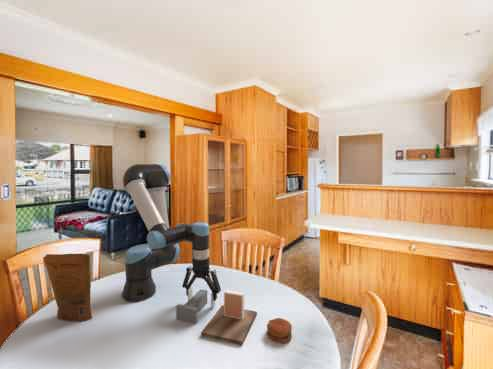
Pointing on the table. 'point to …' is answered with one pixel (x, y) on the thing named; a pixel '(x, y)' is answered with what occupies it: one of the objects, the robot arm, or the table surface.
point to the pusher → (192, 308)
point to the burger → (279, 330)
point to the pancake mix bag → (70, 285)
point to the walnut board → (229, 327)
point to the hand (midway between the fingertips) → (201, 304)
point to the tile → (234, 304)
